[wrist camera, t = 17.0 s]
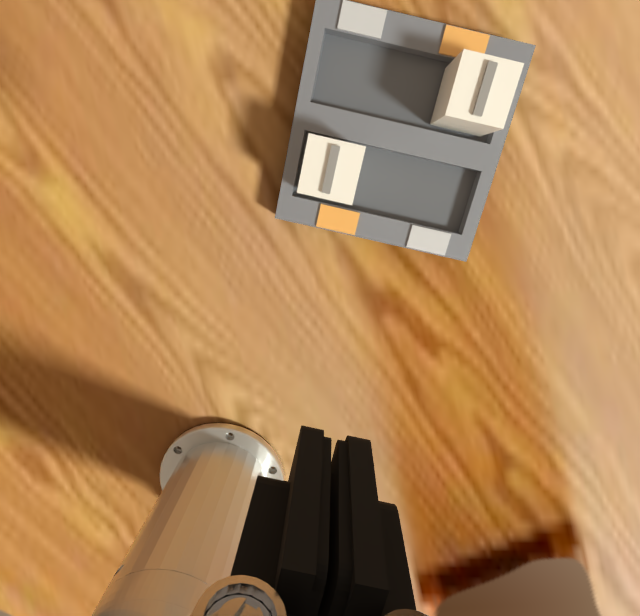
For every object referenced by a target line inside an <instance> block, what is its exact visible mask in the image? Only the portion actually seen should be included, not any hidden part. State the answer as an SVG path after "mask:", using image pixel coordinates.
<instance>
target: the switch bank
mask: <svg viewBox="0 0 640 616" xmlns="http://www.w3.org/2000/svg"><path fill="white" fill-rule="evenodd" d="M535 46H536V45H531V44H527V43H523V42H519V41H515V40H511V39H507V38H502V37H498V36H494V35H490V34H486V33H482V32H477V31H473V30H469V29H465V28H461V27H457V26H453V25H448V24H444V23H440V22H436V21H432V20H428V19H423V18H419V17H415V16H411V15H407V14H403V13H399V12H394V11H390V10H386V9H382V8H378V7H374V6H370V5H365V4H361V3H357V2H353V1H349V0H316V2H315V7H314V12H313V18H312V23H311V28H310V34H309V39H308V44H307V50H306V55H305V60H304V66H303V71H302V76H301V82H300V87H299V92H298V98H297V103H296V108H295V114H294V119H293V124H292V129H291V135H290V140H289V145H288V151H287V156H286V161H285V167H284V172H283V177H282V183H281V188H280V193H279V199H278V204H277V209H276V215H275V218H277V219H281V220H286V221H290V222H294V223H299V224H303V225H308V226H312V227H316V228H321V229H325V230H330V231H334V232H338V233H343V234H347V235H351V236H356V237H360V238H365V239H369V240H373V241H378V242H382V243H387V244H391V245H395V246H400V247H404V248H409V249H413V250H417V251H422V252H426V253H431V254H435V255H439V256H444V257H448V258H453V259H457V260H461V261H467V258H468V255H469V252H470V249H471V245H472V242H473V239H474V236H475V233H476V230H477V227H478V224H479V221H480V217H481V214H482V211H483V208H484V205H485V202H486V199H487V196H488V192H489V189H490V186H491V183H492V180H493V177H494V174H495V171H496V168H497V164H498V161H499V158H500V155H501V152H502V149H503V146H504V143H505V140H506V136H507V133H508V130H509V127H510V124H511V121H512V118H513V115H514V111H515V108H516V105H517V102H518V99H519V96H520V93H521V90H522V87H523V83H524V80H525V77H526V74H527V71H528V68H529V65H530V62H531V58H532V55H533V52H534V49H535ZM463 49H467V50H471V51H475V52H479V53H484V54H488V55H492V56H496V57H500V58H504V59H509V60H513V61H517V62H521V63H524V66H523V69H522V72H521V75H520V78H519V81H518V85H517V88H516V91H515V94H514V97H513V100H512V104H511V107H510V110H509V113H508V116H507V119H506V122H505V126H504V129H502V130H499V131H496V132H492V133H489V134H486V135H483V136H476V135H471V134H467V133H463V132H459V131H454V130H450V129H446V128H441V127H437V126H433V125H430V122H431V119H432V115H433V111H434V107H435V104H436V100H437V96H438V93H439V89H440V85H441V82H442V78H443V74H444V71H445V68H446V67H447V66H448V65H449V64H450V63H451V62H452V61H453V60H454V58H455V57H456V56H457V55H458V54H459V53H460V52H461V51H462V50H463ZM309 133H310V134H315V135H319V136H323V137H328V138H332V139H336V140H340V141H345V142H349V143H353V144H358V145H362V146H366V149H365V153H364V157H363V162H362V166H361V170H360V174H359V179H358V183H357V187H356V191H355V196H354V200H353V204H352V205H348V204H344V203H339V202H335V201H331V200H326V199H322V198H318V197H313V196H309V195H305V194H300V193H297V189H298V184H299V179H300V174H301V169H302V164H303V159H304V154H305V149H306V144H307V139H308V134H309Z"/></svg>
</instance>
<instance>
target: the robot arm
mask: <svg viewBox="0 0 640 616" xmlns="http://www.w3.org/2000/svg"><path fill="white" fill-rule="evenodd" d="M159 476H160V485H161V488H162V492H161V494H160V496H159V498H158V499H157V501H156V503H155V505H154V506H153V508H152V510H151V512H150V514H149V515H148V517H147V519H146V521H145V522H144V524H143V526H142V528H141V529H140V531H139V533H138V535H137V536H136V538H135V540H134V542H133V544H132V545H131V547H130V549H129V551H128V552H127V554H126V556H125V558H124V559H123V561H122V563H121V565H120V566H119V568H118V570H117V572H116V573H115V575H114V577H113V579H112V581H111V582H110V584H109V586H108V588H107V589H106V591H105V593H104V594H103V596H102V598H101V600H100V601H99V603H98V605H97V607H96V609H95V611H94V613H93V614H92V616H427V615H425V614H423V613H421V612H419V611H416V606H415V601H414V595H413V590H412V584H411V579H410V574H409V568H408V563H407V557H406V552H405V546H404V541H403V535H402V530H401V525H400V519H399V514H398V510H397V507H396V505H395V504H390V503H386V502H381V501H378V495H377V487H376V479H375V471H374V463H373V456H372V448H371V442H370V440H366V439H362V438H357V437H352V436H347V437H346V440H345V441H342V440H337V443H336V446H335V450H334V454H333V458H332V461H331V438H328V437H324V430H320V429H315V428H311V427H306V426H301V429H300V434H299V438H298V442H297V446H296V450H295V455H294V459H293V463H292V467H291V472H290V476H289V480H288V482H287V481H284V471H283V466H282V464H281V461H280V459H279V457H278V455H277V454H276V452H275V451H274V449H273V448H272V447H271V446H270V445H269V444H268V443H267V442H266V441H265V440H264V439H263V438H262V437H260V436H259V435H257V434H256V433H254V432H252V431H250V430H248V429H246V428H243V427H240V426H236V425H233V424H226V423H210V424H204V425H200V426H196V427H194V428H192V429H190V430H188V431H186V432H184V433H183V434H181V435H180V436H179V437H178V438H176V440H175V441H174V442H173V443H172V444H171V445H170V447H169V449H168V450H167V452H166V453H165V455H164V457H163V460H162V463H161V466H160V474H159Z"/></svg>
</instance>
